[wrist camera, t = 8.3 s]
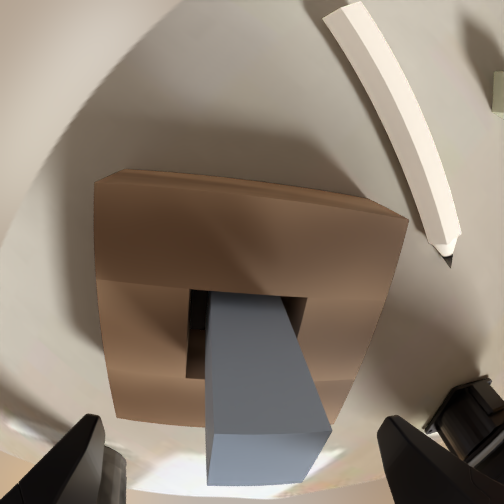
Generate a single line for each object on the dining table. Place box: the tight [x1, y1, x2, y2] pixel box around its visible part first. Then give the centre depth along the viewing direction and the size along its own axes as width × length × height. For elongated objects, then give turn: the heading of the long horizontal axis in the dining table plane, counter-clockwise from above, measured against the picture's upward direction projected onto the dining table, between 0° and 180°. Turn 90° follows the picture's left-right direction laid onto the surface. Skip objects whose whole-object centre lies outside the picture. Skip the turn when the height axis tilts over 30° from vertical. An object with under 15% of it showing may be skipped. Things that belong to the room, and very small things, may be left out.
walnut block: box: [94, 169, 409, 427], centre depth 15 cm, size 12×12×4 cm
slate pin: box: [205, 291, 332, 486], centre depth 12 cm, size 3×3×10 cm
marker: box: [322, 1, 461, 268], centre depth 14 cm, size 3×2×16 cm
